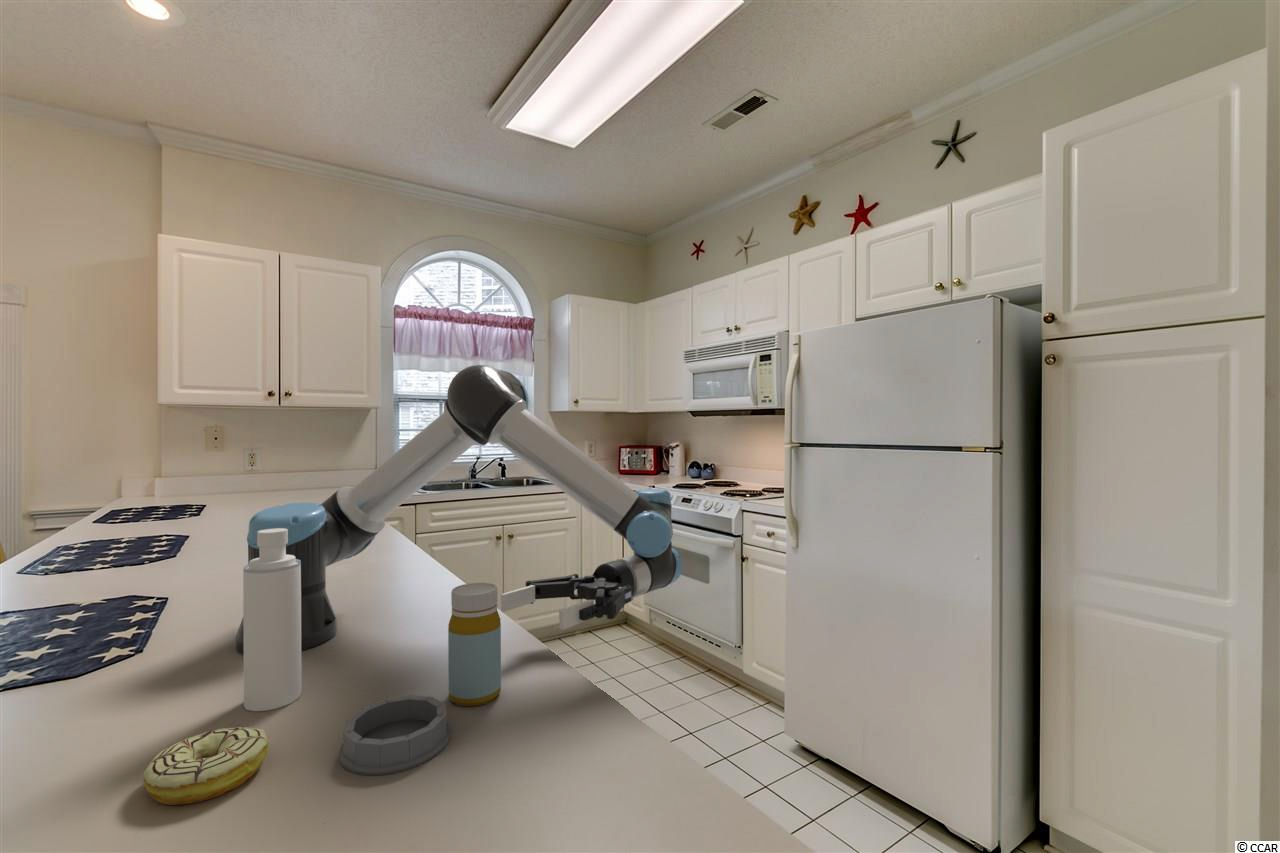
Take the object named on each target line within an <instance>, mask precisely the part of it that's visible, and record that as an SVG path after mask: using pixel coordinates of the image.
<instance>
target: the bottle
mask: <svg viewBox="0 0 1280 853" xmlns="http://www.w3.org/2000/svg"><path fill="white" fill-rule="evenodd" d="M450 596H451V597H450V598H451V604H450V605H451V617H450V619H449V620H448V621H449V622H448V629H447V633H448V637H447V638H448V640H447V643H448V645H447V648H448V650H447V651H448V665H447V666H448V672H447V673H448V697H449V699H450V700H451V701H452V702H453V703H454V704H456V705H457V706H461V707H476V706H483V705H485V704H488V703H490V702H491V701H494V699H496V697H497V696H498V695H499V693H500V692H501V690H502V689H501V687H502V640H501V638H502V633H501V632H502V628H501V625H502V624H501V617H500V614H499V612H498V586H497V585H496V584H494V583H491V582H490V583H489V582H472V583H471V582H470V583H465V584H464V583H463V584H461V585H458V586H455V587H454V588H452V590H451V595H450Z"/></svg>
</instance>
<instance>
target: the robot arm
mask: <svg viewBox="0 0 1280 853" xmlns="http://www.w3.org/2000/svg"><path fill="white" fill-rule="evenodd" d="M446 395H447V396H446V397H447V398H446V400H445V401H444V402H443V413H442V414H441V415H439V416H438V417H437V418H435V419H433V421H432V422H431V423H430V424H428V425H427V426H426V427H425V428H423V429H422V430H421V431H420V432H419V433H417V434H415V436H414V437H413V438H412V439H410V440H409V441H408V442H406V443H405V444H404V445H403V446H401V447H400V448H399V449H398V450H397V451H396V452H394V454H392V455H391V456H390V457H389V458H387V459H386V460H385V461H384V462H382V463H381V464H379V466H378V467H377V468H375V469H374V470H373V471H371V472H370V473H369V474H367V476H365V477H364V478H363V479H362V480H361V481H360V482H358V483H357V484H356V485H355V486H349V485H345V486H341V487H340V488H339V489H338V490H336V492H334V493H333V494H332V495H331V496H329V497H328V498H327V499H326V500H324V501H323V502H322V503H321V504H320V503H316V502H292V503H287V504H284V505H275V506H271V507H267V508H264V509H262V510H260V511H257V512H256V513H255V514H254V515H252V517H251V518H250V519H249V522H248V532H247V536H246V541H247V553H248V555H247V556H248V558H247V559H248V560H247V561H248V562H247V565H248V564H249V562H250V560H252V559H255V558H259V547H258V546H257V532H258V531H260V530H266V529H275V528H285V529H288V543H287V544H286V555H294V556H295V557H296V559H299V560H301V651H302V650H306V649H310V648H312V647H316V646H318V645H320V644H323V643H325V642H327V641H329V640H331V639H333V638H334V636H336V635H337V632H338V627H337V626H338V624H337V623H338V622H337V621H338V620H337V617H336V614H335V611H334V609H333V606H332V604H331V601H330V599H329V596H328V593H327V590H326V588H327V586H326V584H327V583H326V579H327V578H326V577H327V576H326V574H327V573H326V570H327V569H326V568H327V567H329V566H331V565H333V564H336V563H338V562H340V561H343V560H347V559H350V558H352V557H355V556H357V555H359V554H360V553H362V552H363V551H364V550H366V549H367V548H368V547H369V546H370V545H371V544H372V542H373V541H374V540H375V538H376V536H377V535H378V534H379V533H380V532H381V531H383V529H384V528H385V525H386V517H388V516H389V515H391V514H392V513H393V512H394V511H395V510H396V509H397V508H399V507H400V506H401V505H402V504H404V503H405V502H406V501H408V499H409V498H411V497H412V496H413V495H414V494H416V493H417V492H418V491H419V490H421V489H422V488H423V487H424V486H426V484H427V483H429V482H430V481H431V480H433V479H434V478H436V477H437V475H439V473H441V472H443V470H445V469H446V468H448V466H450V465H451V464H452V463H454V462H455V461H456V460H458V458H459V457H460V456H462V455H463V454H464V453H465V452H467V451H468V450H469V449H470V448H471V447H472V446H481V447H483V446H486V445H487V444H490V445H495V444H500V445H501V446H502V447H503V448H505V449H506V450H507V451H509V452H510V453H511V454H513V455H514V456H516V458H518V459H520V461H522V462H523V463H525V464H527V465H528V466H529V467H530V468H531V469H532V470H534V471H535V472H536V473H537V474H540V475H541V476H542V477H543V478H544V479H545V480H547V481H549V482H550V483H551V484H553V485H554V486H555V487H556V488H558V489H559V490H560V491H562V492H563V493H564V494H566V495H567V496H568V497H570V498H571V499H572V500H573V501H575V502H576V503H578V504H579V505H580V506H582V507H583V508H584V509H585V510H586V511H588V512H590V513H591V514H592V515H594V516H595V518H597V519H599V520H600V521H602V522H603V523H604V524H605V525H607V526H608V527H610V529H612V530H613V531H614V532H615V533H617V534H618V535H619V536H621V537H622V538H623V539H624V540H626V541H627V544H628V545H629V547H630V549H631V550H632V551H633V554H632V555H627V556H623V557H621V558H617V559H615V560H612V561H609V562H605V563H602V564H600V565H598V566H597V567H596V568H595V570H594V572H593V573H592V575H585V576H584V577H579V574H577V573H574V574H570V575H565V576H559V577H558V576H556V577H550V578H541V579H533V580H526V581H525V586H524V587H521V588H517V589H514V590H511V591H507V592H504V593H501V594H500V611H501V612H508V611H510V610H514V609H517V608H521V607H524V606H527V605H531V604H532V605H534V603H535V602H536V600H546V599H560V598H570V600H573V601H575V600H585V601H582V602H578V603H577V604H574V605H570V606H568V607H565V608H562V609H560V610H559V611H558V619H559V620H558V621H559V622H558V626H559V627H558V628H559V629H558V630H562V631H564V630H567V629H569V628H571V627H575V626H577V625H579V624H582V623H584V622H586V621H589V620H593V619H594V618H597V619H601V618H603V617H604V616H606V619H608V620H614V619H615V618H616V617H617V616H618V614H619V613H620V612H621V610H622V609H623V608H624V607H625V605H627V604H628V603H630V602H632V601H633V600H634V598H638V597H640V596H644V595H646V594H648V593H650V592H654V591H657V590H658V589H663V588H666V587H667V586H669V585H671V584H673V583H674V582H676V581H677V580H679V578H680V576H681V575H682V572H683V567H684V566H683V560H682V559H681V557H680V554H679V552H678V551H677V550H676V549H675V548H673V544H672V539H673V535H674V531H673V530H674V529H673V525H672V524H673V523H672V522H673V521H672V506H673V505H672V497H671V492H670V491H668V490H667V489H662V488H642V489H637V490H633V488H630V487H629V486H628V485H627V484H626V483H624V482H623V481H621V480H620V479H619V478H617V477H616V476H615V475H613V474H612V473H611V472H609V471H608V470H606V468H604V467H603V465H600V464H599V463H597V462H596V461H595V460H594V459H592V458H591V457H590V456H588V455H587V454H586V453H585V452H583V451H582V450H581V449H579V448H578V447H576V445H574V444H573V443H571V442H570V441H569V440H567V439H566V438H565V437H564V436H562V435H560V433H558V432H557V431H555V430H554V429H553V428H552V427H550V426H549V425H548V424H547V423H545V422H544V421H542V420H541V419H539V418H538V417H537V416H536V415H534V414H533V413H532V412H530V411H529V410H528V407H529V395H528V391H527V389H526V387H525V385H524V383H523V382H522V381H521V380H520V379H519V378H518V377H516V376H515V375H514V374H513V373H511V372H509V371H506V370H503V369H497V368H495V367H493V366H489V365H484V364H475V365H474V364H473V365H469V366H467V367H465V368H462V370H460V371H459V372H458V373H456V374H455V376H454V377H453V378H452V379H451V380H450V383H449V386H448V389H447V394H446ZM298 563H299V562H298ZM575 591H576V594H575ZM594 601H595V603H594ZM235 637H236V638H235V640H236V641H235V643H236V644H235V646H236V647H235V648H236V651H237V652H238V653H240V654H243V655H244V626H243V617H242V619H241V621H240V625H239V627H238V630H237V633H236V635H235Z"/></svg>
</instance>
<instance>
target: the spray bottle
mask: <svg viewBox="0 0 1280 853" xmlns="http://www.w3.org/2000/svg"><path fill="white" fill-rule="evenodd" d="M287 543H288V529H285V528H275V529H266V530H260V531H258V532H257V546H258V547H259V558H255V559H252V560H250V562H249V564H248V563H247V564H246V565H244V566H243V582H242V583H243V588H242V590H243V591H242V593H243V595H242V596H243V599H242V600H243V601H242V602H243V604H242V605H243V606H242V607H243V614H242V615H243V616H242V618H243V626H244V654H243V707H244V709H246V710H247V711H250V712H267V711H271V710H272V711H273V710H276V709H280V708H284V707H286V706H288V705H291V704H293V703H294V702H296V701H297V700H298V699H299V698H301V694H302V650H301V560H299V559H296V557H295V556H294V555H286V544H287ZM298 562H299V563H298Z"/></svg>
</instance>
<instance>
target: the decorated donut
mask: <svg viewBox="0 0 1280 853" xmlns="http://www.w3.org/2000/svg"><path fill="white" fill-rule="evenodd" d="M269 747H270V744H269V742H268V736H267V735H266V733H265V730H264V729H260V728H256V727H255V728H253V727H250V726H249V727H247V726H246V727H244V726H238V727H226V728H217V729H212V730H209V731H206V732H203V733H200V734H197V735H193V736H191V737H187V738H185V739H182V740H181V741H178V742H176V743H174V744H172V745H170V746H168V747H166V748H164V749H163V750H161V751H160V752H158V753H157V754H156V755H155V757H153V759H152V760H151V761H150V762H149V764H148V766H147V767H146V768H145V770H144V772H143V773H142V777H143V778H142V779H143V784H144V787H145V790H146V792H147V793H148V795H149V796H151V798H152V799H154V801H156V802H158V803H160V804H163V805H167V806H168V805H169V806H170V805H171V806H176V805H186V804H195V803H200V802H203V801H206V800H211V798H212V799H214V798H217V797H219V796H222V795H224V794H227V793H226V792H230V791H232V790H234V789H236V788H238V787H240V786H241V785H243V784H244V783H246V782H247V780H248V779H250V778H251V777H252V776H253V775H254V774H255V773H257V772H258V770H259V769H260V768H261V766H262V765H263V763H264V760H265V757H266V755H267V753H268V752H269Z"/></svg>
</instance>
